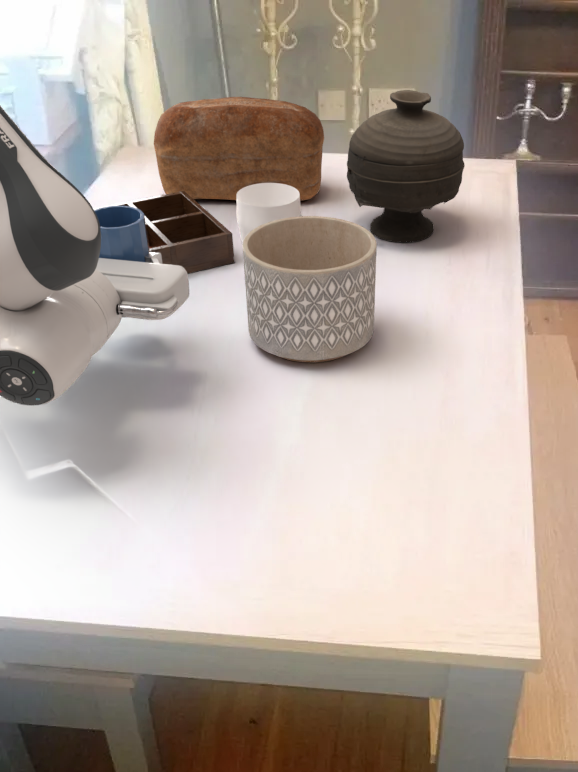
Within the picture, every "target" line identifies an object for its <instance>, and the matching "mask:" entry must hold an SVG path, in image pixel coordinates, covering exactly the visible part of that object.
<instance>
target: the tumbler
mask: <svg viewBox="0 0 578 772" xmlns="http://www.w3.org/2000/svg"><path fill="white" fill-rule="evenodd" d="M107 206H108V205H107ZM101 207H102V208H99V209H96V210H94V211H95V213H96V215H97V217H98V220H99V223H100V230H101V248H100V255H99V258H106V259H117V260H127V261H138V262H145V256H146V255H147V254H148V252H150V251H149V245H148V238H147V231H146V224H145V217H144V213H143V212H142V211H141V210H140V209H137V208H134V207H130V206H108V207H103V206H101ZM122 318H126V319H127V318H128V317H122Z"/></svg>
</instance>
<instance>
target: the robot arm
mask: <svg viewBox="0 0 578 772" xmlns="http://www.w3.org/2000/svg"><path fill="white" fill-rule="evenodd" d="M93 208H94V207H93V206H92V205H91V203H90V201H89V200H88V199H87V197H86V196H85V195H84V194H83V193H82V192H81V191H80V189H79V188H77V187H76V186H75V185H74V184H73V183H72V182H71V181H70V180H69V179H68V178H67V177H65V175H63V174H62V173H61V172H60V171H59V170H58V169H57V168H56V167H54V166H53V165H52V164H51V163H50V161H49V160H47V159H46V157H45V156H44V155H43V154H42V153H41V151H39V149H38V148H37V147H36V146H35V145H34V143H32V141H31V140H30V139H29V138H28V136H27V135H26V134H25V132H23V131H22V129H21V128H20V126H18V124H17V123H16V122H15V121H14V119H12V117H11V116H10V115H9V114H8V112H7V111H6V110H5V109H4V108H3V106H1V105H0V397H1V398H3V399H5V400H7V401H9V402H12V403H15V404H18V405H23V406H33V407H34V406H41V405H45V404H49V403H51V402H53V401H55V400H56V399H58V398H60V397H61V396H62V395H63V394H64V393H65V392H67V391H68V390H69V389H70V388H71V387H72V386H73V385H74V384H75V382H77V380H78V379H79V378H80V377H81V376H82V375H83V373H84V372H85V370H86V369H88V367H89V365H90V363H91V361H92V357H93V356H94V355H96V354H98V352H99V351H100V350H101V349H102V348H103V347H104V346H105V344H106V343H107V342H108V340H109V339H110V338H111V336H112V335H113V334H114V333H115V331H116V330H117V328H118V327H119V326H120V323H121V321H122V318H123V317H128V318H130V319H137V320H149V321H161V320H164V319H167V318H169V317H171V316H172V315H174V314H175V312H177V311H179V309H180V308H181V307H182V306H183V305H184V304H185V303H186V302H187V300H188V298H189V297H190V280H189V275H188V274H189V273H188V274H187V271H186V270H185V269H184V268H183V267H182V266H179V265H169V264H162V256H161V253H155V252H148V254H147V255H146V256H145V262H138V261H127V260H117V259H106V258H99V255H100V248H101V230H100V223H99V220H98V217H97V215H96V213H95V211H94V209H93Z"/></svg>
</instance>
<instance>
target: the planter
mask: <svg viewBox="0 0 578 772" xmlns="http://www.w3.org/2000/svg"><path fill="white" fill-rule="evenodd" d="M375 237H376V236H375V235H373V234H372V232H371V231H370V230H369V229H367V228H366V227H364V226H362V225H360V224H358V223H355V222H353V221H351V220H346V219H342V218H337V217H331V216H319V215H302V216H300V217H290V218H284V219H279V220H275V221H271V222H268V223H265V224H263V225H261V226H259V227H257V228H255V229H253V230H252V231H251V232H249V233H248V235H247V236H246V237H245V239H244V240H243V246H242V245H241V246H242V259H243V272H244V286H245V299H246V313H247V325H248V326H247V327H248V334H249V338H250V339H251V341H252V342H253V343H254V345H256V347H258V348H260V349H261V350H263V351H265V352H267V353H269V354H271V355H274V356H277V357H279V358H281V359H284V360H288V361H291V362H298V363H325V362H330V361H334V360H338V359H341V358H343V357H346V356H347V355H350V354H353V353H354V352H356V351H358V350H360V349H362V348H363V347H364V346H366V344H368V342H370V340H371V339H372V338H373V335H374V331H375V308H376V306H375V304H376V275H377V249H378V248H377V247H378V245H377V239H376V238H375Z"/></svg>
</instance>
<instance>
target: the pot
mask: <svg viewBox="0 0 578 772" xmlns="http://www.w3.org/2000/svg"><path fill="white" fill-rule="evenodd" d="M389 99H390V101H391V102H392V103H393V104H395V105H396V107H395V108H389V109H385V110H382V111H380V112H378V113H375V114H373V115H371V116H370V117H368V118H367V119H365V120H364V121H363V122H362V123H361V124H360V125H359V126H357V128H356V129H355V130H354V132H353V134H352V135H351V137H350V140H349V144H348V145H349V147H348V151H347V161H346V167H347V172H346V179H347V182H348V187H349V189H350V192H351V193H352V194H353V196H354V200H355V201H356V203H357V205H358V206H359V208H361V207H372V208H379V209H383V212H382V213H381V214H380V215H378V216H376V217H374V218H372V219H373V220H372V221H371V222H370V227H369V231H370V232H371V233H372V235H373V236H374V237H376V238H377V239H381V240H384V241H387V242H393V243H402V244H406V243H407V244H408V243H417V242H422V241H423V240H426V239H428V238H429V237H431V236H432V235H433V233H434V232H435V228H434V227H435V226H434V222H433V221H432V220H431V219H430V218H428V217H426V216H424V214H423V211H424V210H432V208H434V207H435V206H437V205H440V204H442V203H443V204H446V203H448V202H450V201H451V200H453V199H455V198H456V197H457V195H458V194H459V191H460V187H461V185H462V182H463V173H464V169H465V161H464V149H465V142H464V139H463V137H462V134H461V132H460V131H459V130H458V129H457V127H456V126H455V125H454V124H453V123H452V122H451V121H450V120H449V119H448V118H446V117H444V116H443V115H440V114H439V113H437V112H434V111H430V110H427V109H424V107H425V106H426V105H427V104H430V103H431V102H432V97H431V95H430V94H429V93H428V92H421V91H417V90H412V89H411V90H410V89H403V90H402V89H401V90H397V91H395V92H391V93H390V94H389Z"/></svg>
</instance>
